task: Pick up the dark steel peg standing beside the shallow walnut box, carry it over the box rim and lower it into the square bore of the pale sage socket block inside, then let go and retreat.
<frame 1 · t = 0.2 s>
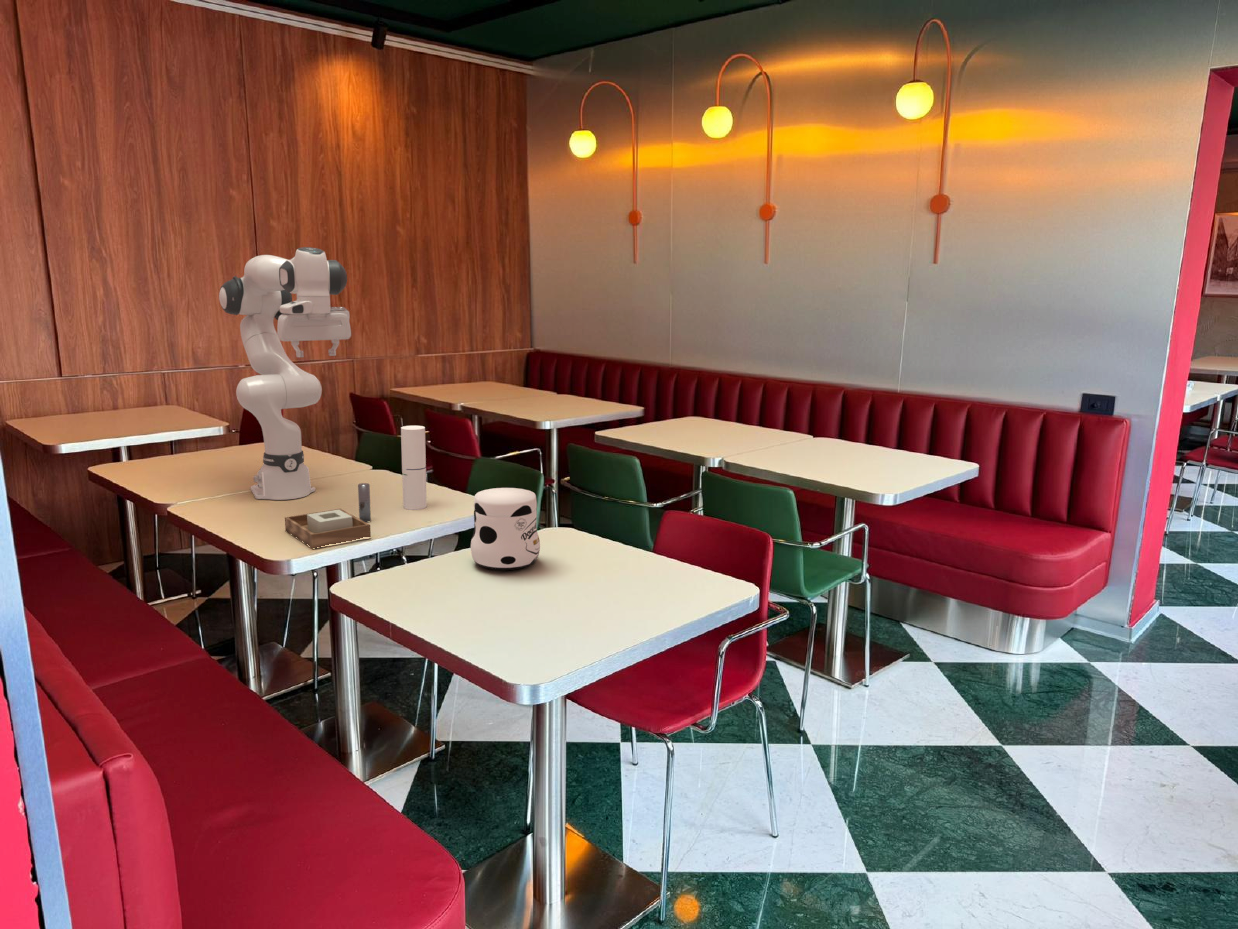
hand: (316, 356, 246), 47 cm above the table, fingers open, 8 cm apart
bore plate: (330, 536, 237), resting on box
box: (327, 535, 239), on the table
milk container: (505, 564, 219), on the table
peg: (365, 521, 253), on the table
cylindrical container: (415, 507, 269), on the table
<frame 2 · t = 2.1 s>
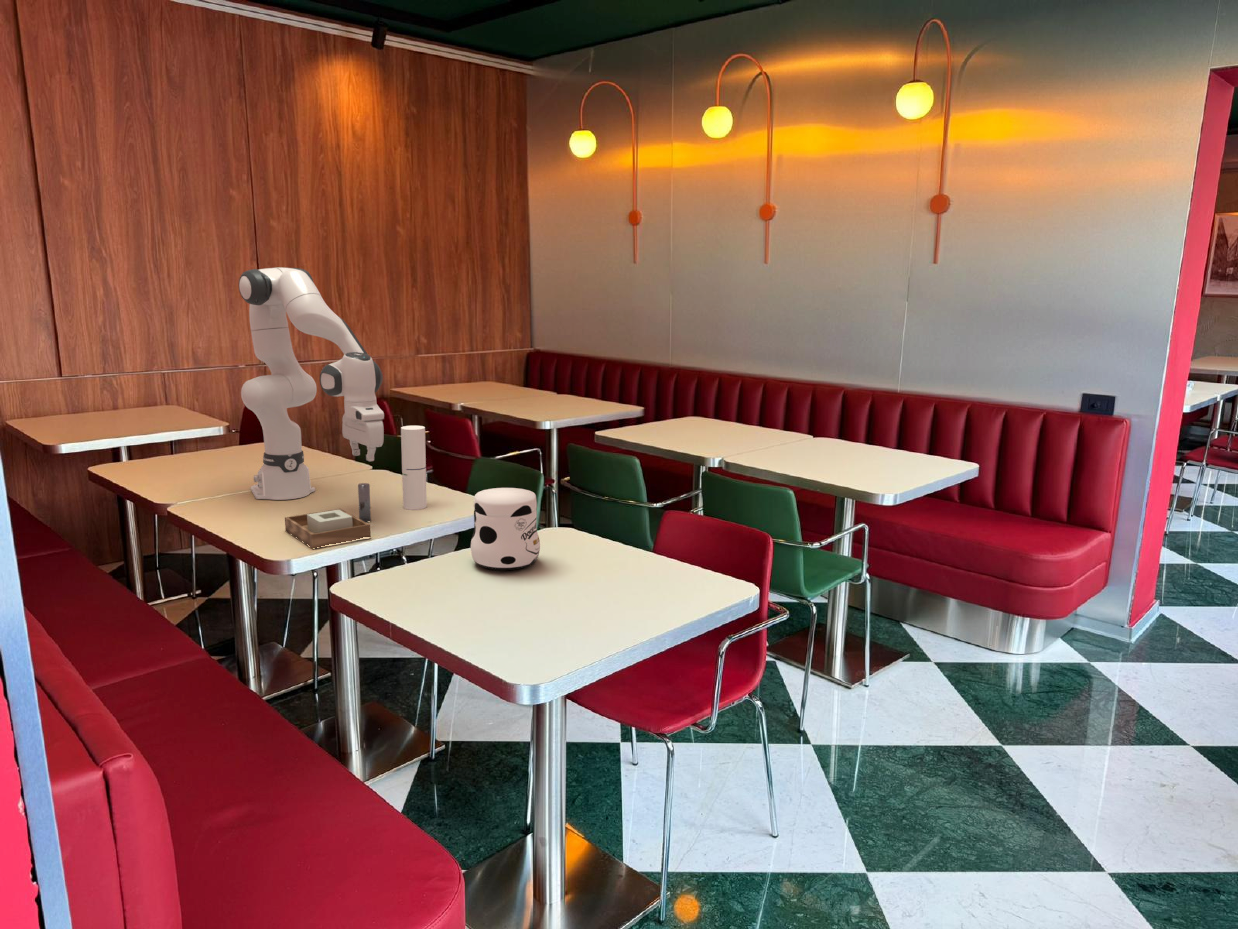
hand: (363, 458, 249), 19 cm above the table, fingers open, 8 cm apart
nothing on the table moved.
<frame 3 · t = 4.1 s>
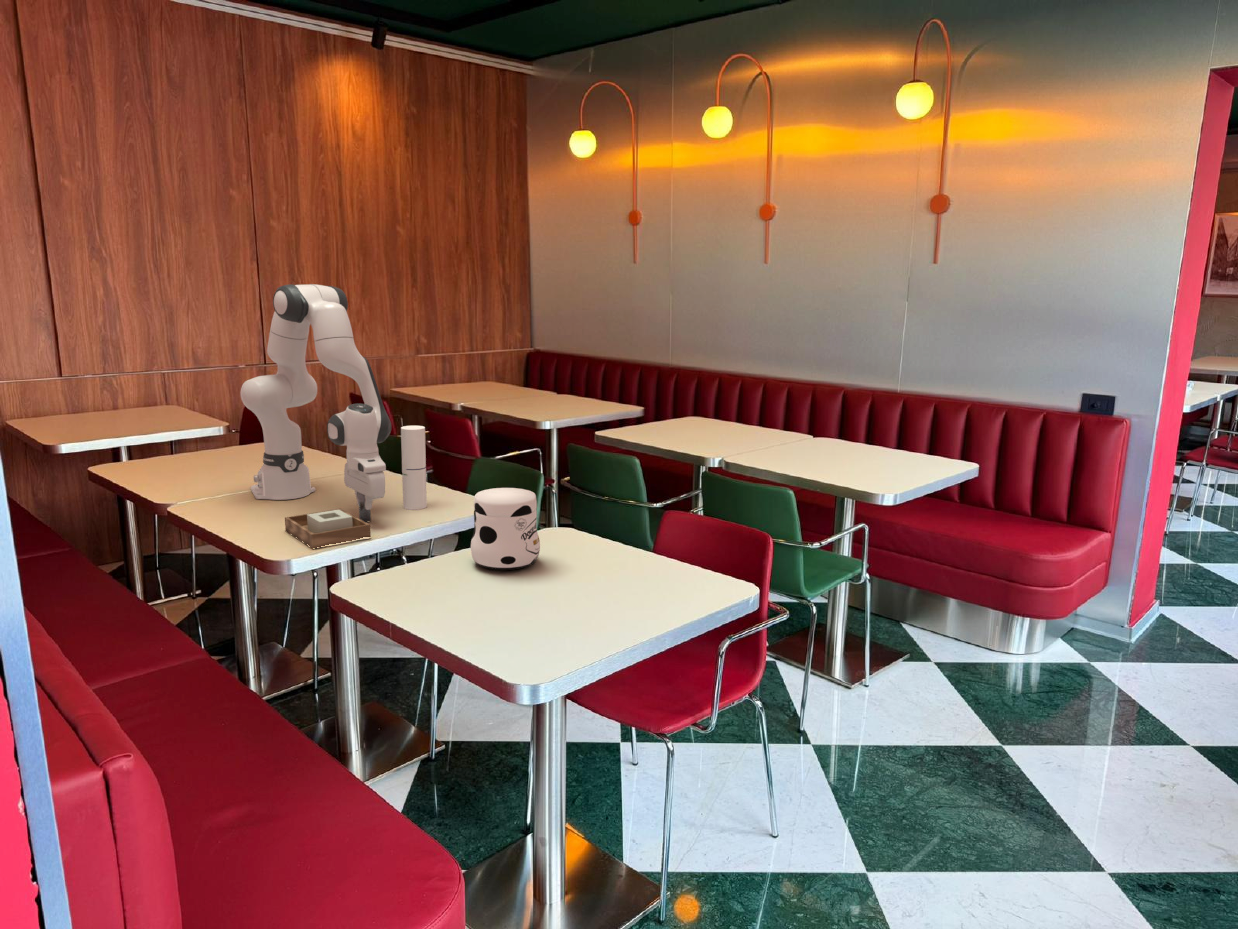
hand: (364, 507, 252), 4 cm above the table, fingers closed on peg, 3 cm apart
peg: (365, 521, 253), on the table, touching gripper
everything else where it was.
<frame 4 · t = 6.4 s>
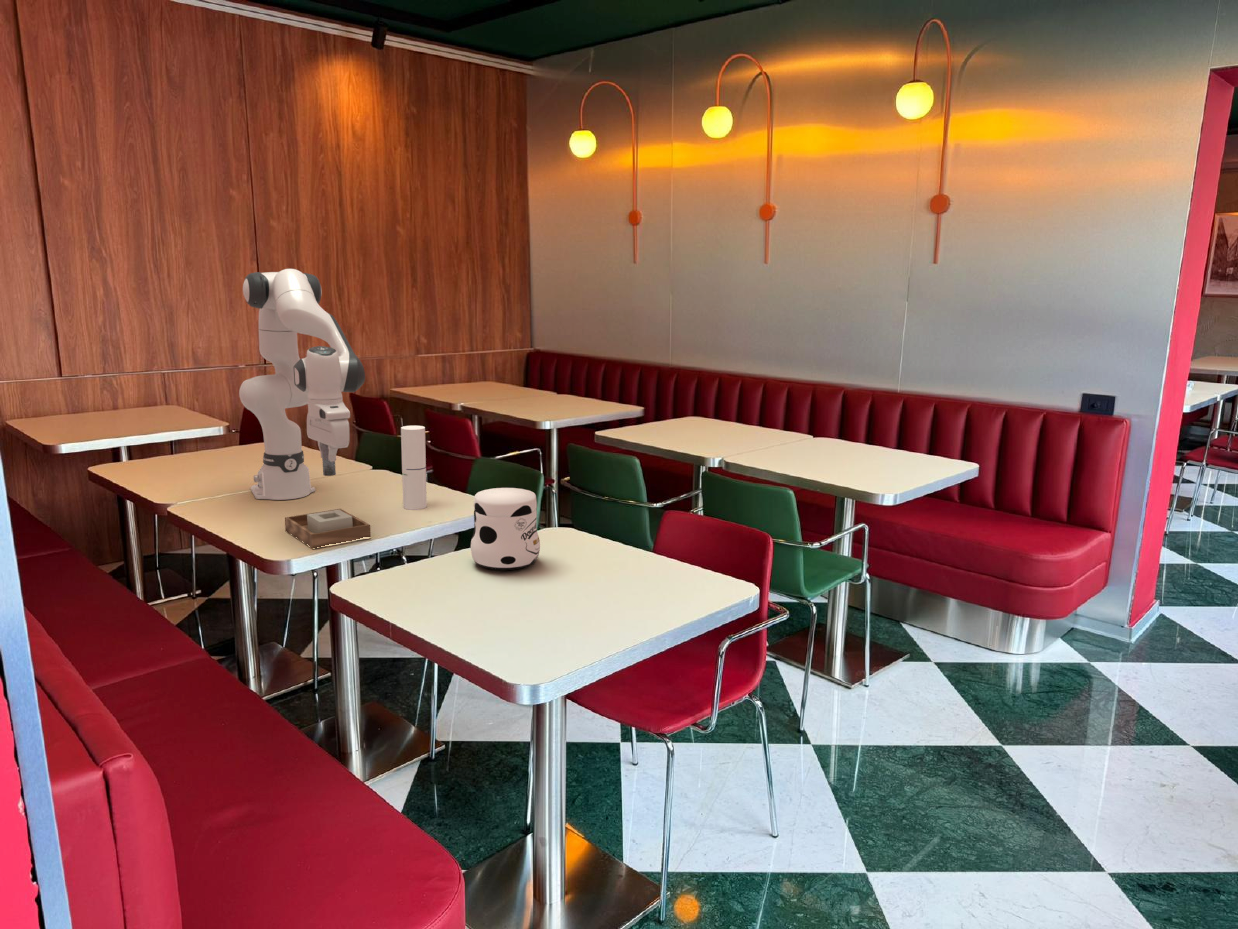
hand: (328, 459, 233), 22 cm above the table, fingers closed on peg, 3 cm apart
peg: (329, 474, 234), point 17 cm above the table, touching gripper
everything else where it was.
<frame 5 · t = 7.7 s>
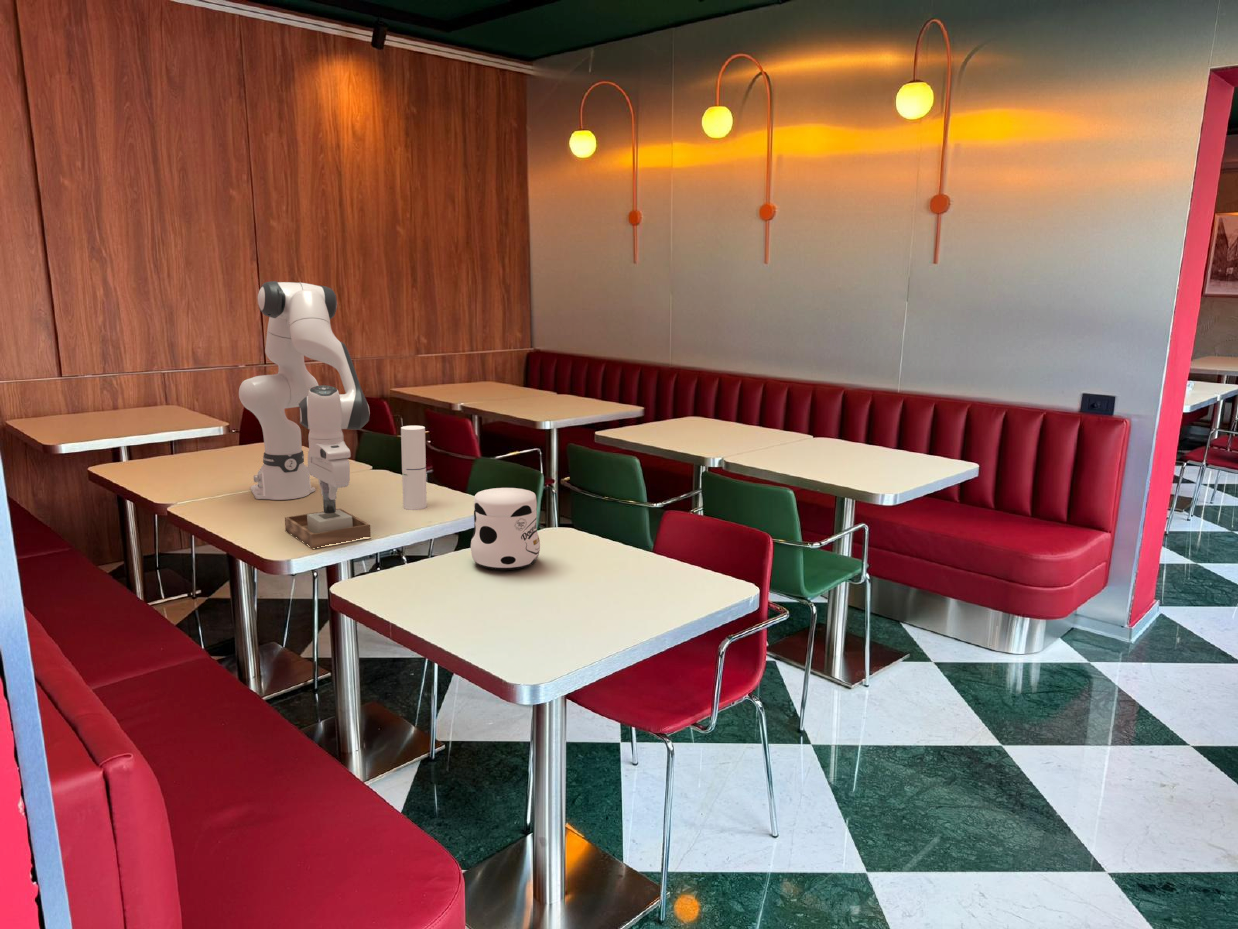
hand: (328, 497, 235), 11 cm above the table, fingers closed on peg, 3 cm apart
peg: (329, 511, 236), point 7 cm above the table, touching gripper
everything else where it was.
when the fingers open (7 cm above the table, at t = 8.8 s): peg drops 2 cm, resting on box.
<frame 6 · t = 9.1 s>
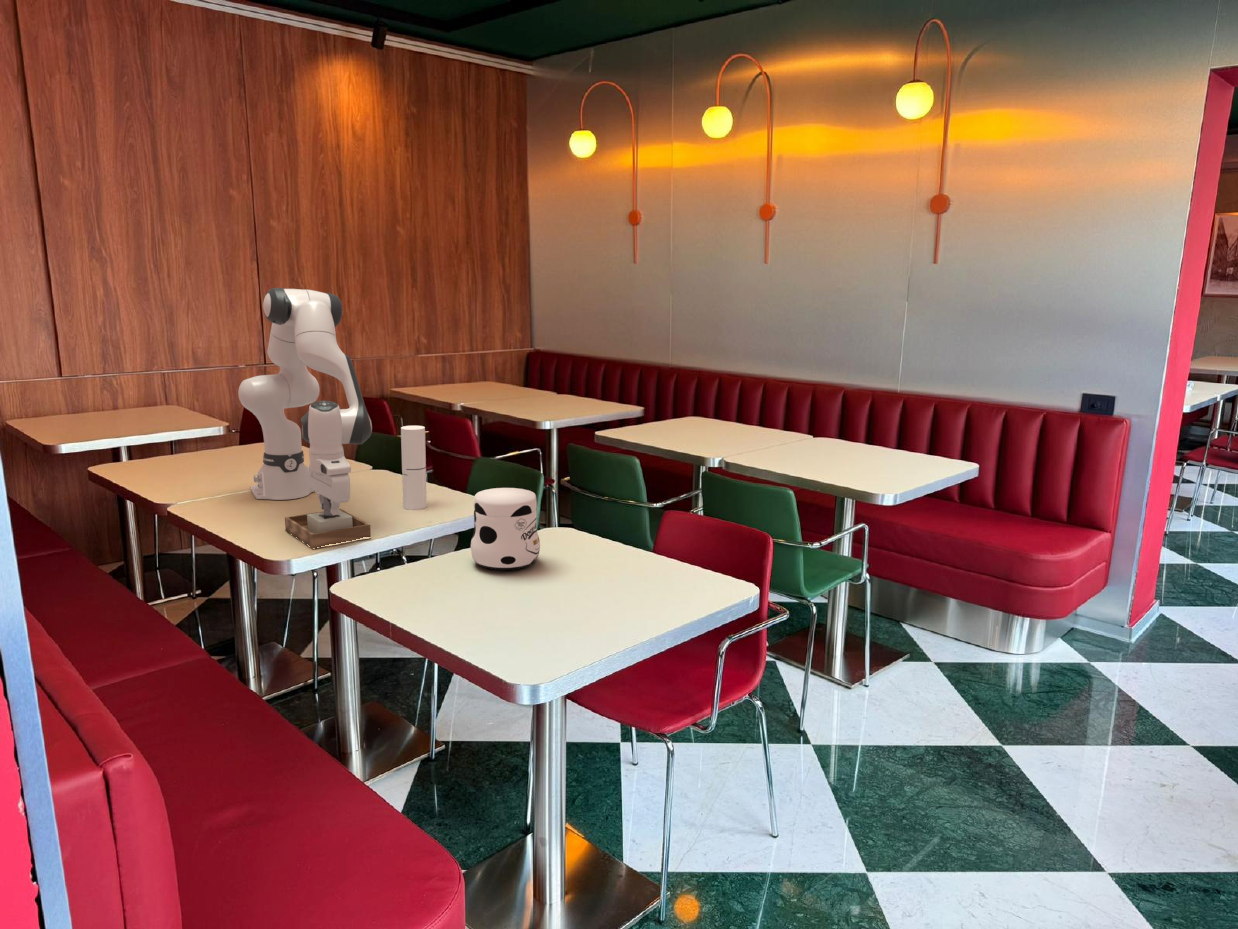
hand: (329, 511, 236), 7 cm above the table, fingers open, 5 cm apart
peg: (330, 532, 237), point 1 cm above the table, touching box
everything else where it was.
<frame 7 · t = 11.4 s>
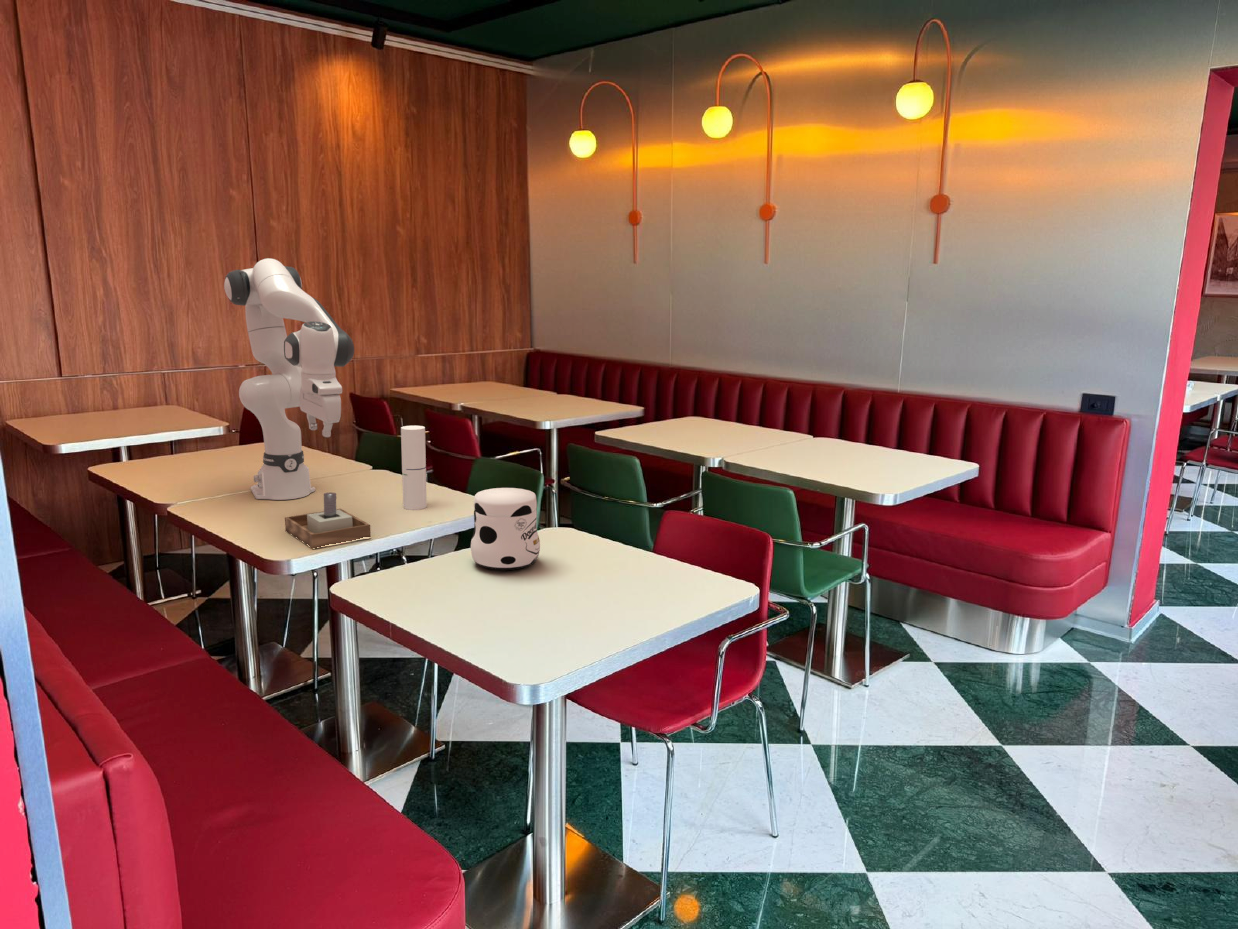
hand: (319, 433, 237), 28 cm above the table, fingers open, 8 cm apart
nothing on the table moved.
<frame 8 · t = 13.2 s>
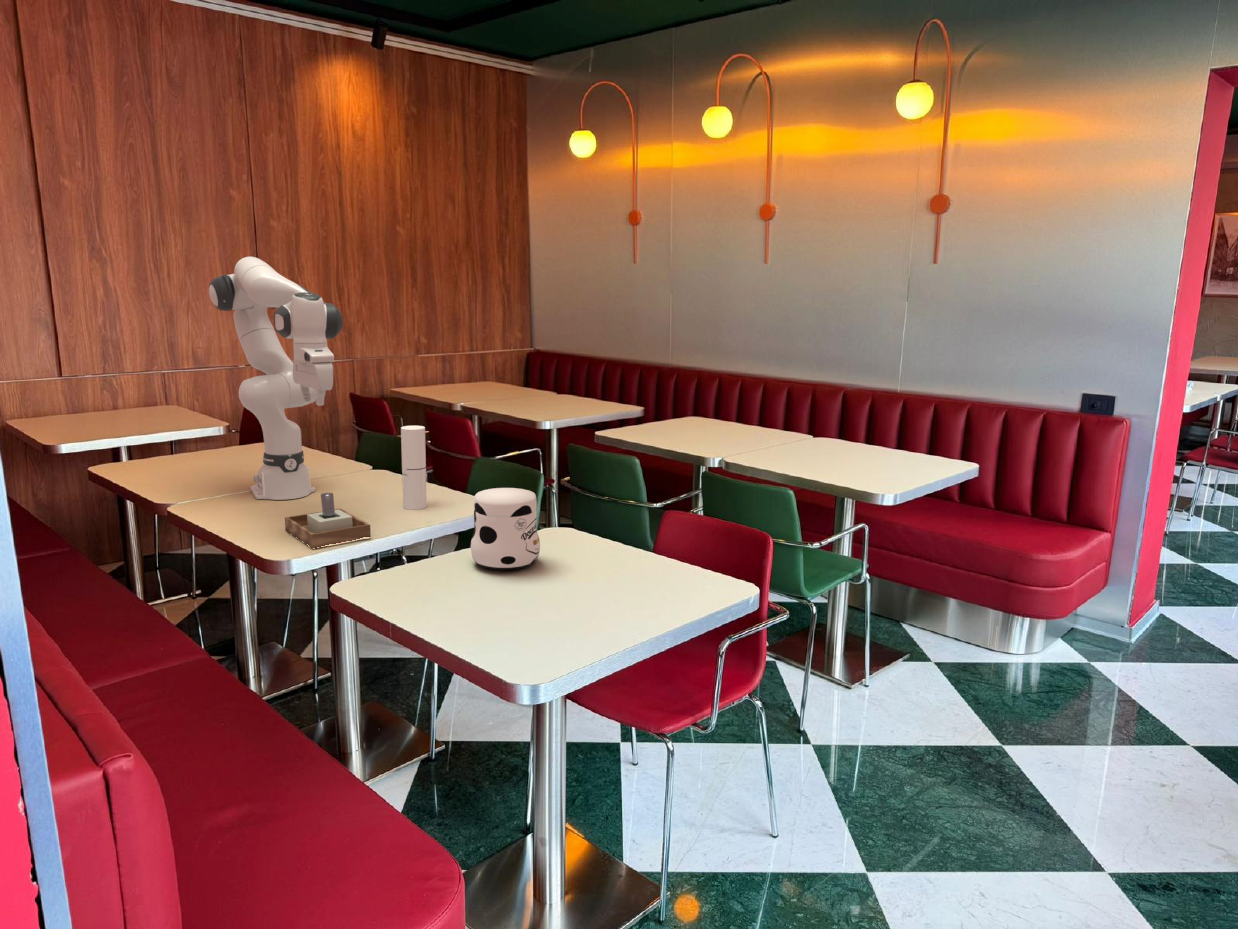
hand: (313, 403, 241), 35 cm above the table, fingers open, 8 cm apart
nothing on the table moved.
at the end: peg 0.1 cm off-centre on the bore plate, point 1.1 cm above the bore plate's base; peg tilted 2°; the gripper is holding nothing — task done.
